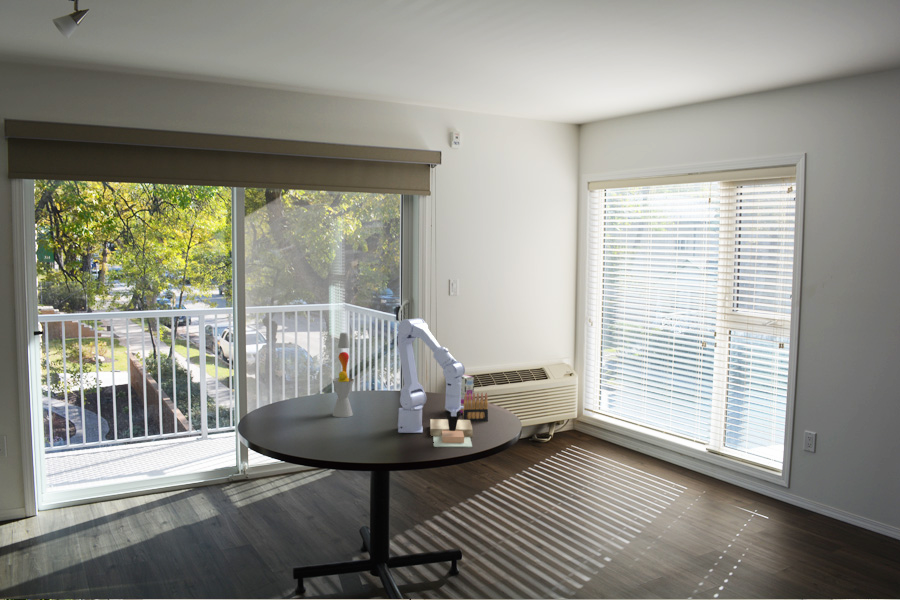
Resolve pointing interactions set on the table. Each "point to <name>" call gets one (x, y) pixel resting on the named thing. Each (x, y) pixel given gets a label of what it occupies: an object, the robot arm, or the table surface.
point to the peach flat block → (452, 437)
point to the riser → (443, 425)
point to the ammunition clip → (473, 412)
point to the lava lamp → (343, 382)
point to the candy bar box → (466, 389)
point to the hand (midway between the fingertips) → (452, 430)
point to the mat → (438, 443)
